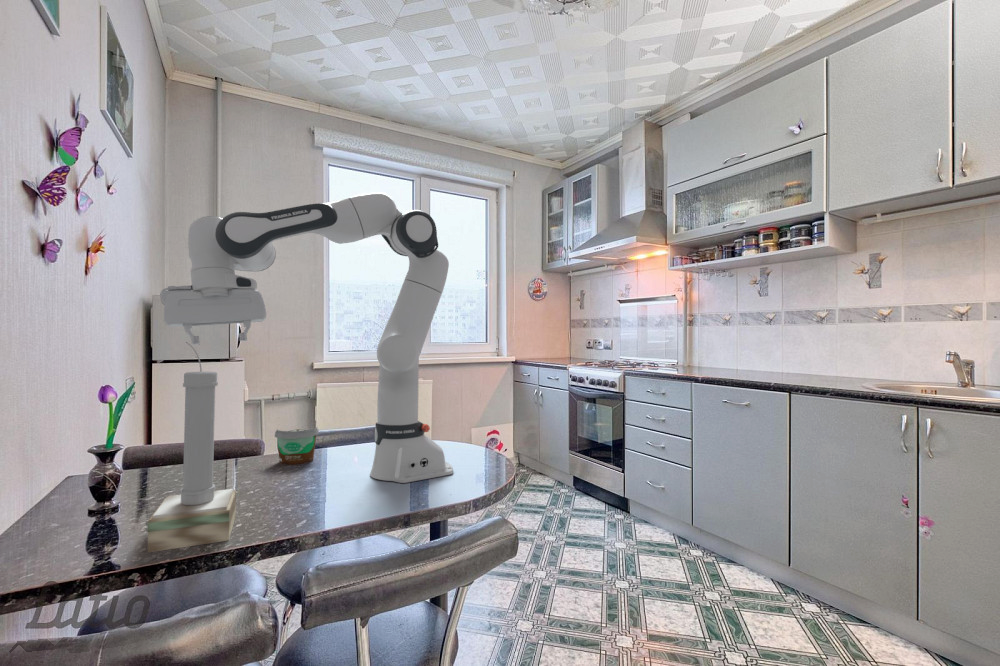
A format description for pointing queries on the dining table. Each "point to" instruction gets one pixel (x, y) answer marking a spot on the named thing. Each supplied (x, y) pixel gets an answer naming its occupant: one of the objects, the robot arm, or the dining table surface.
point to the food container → (296, 446)
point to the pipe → (198, 437)
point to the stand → (192, 522)
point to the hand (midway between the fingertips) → (220, 342)
